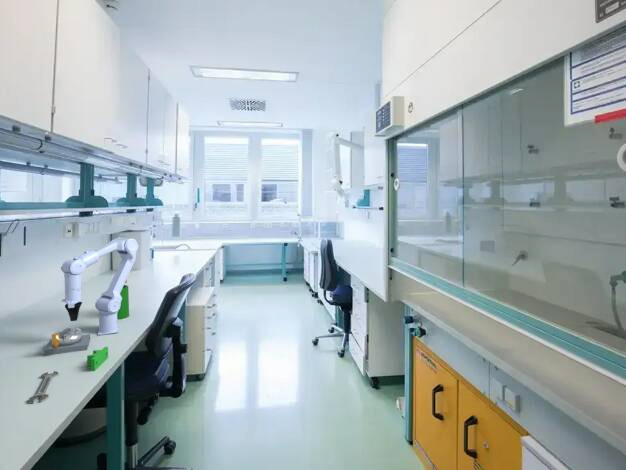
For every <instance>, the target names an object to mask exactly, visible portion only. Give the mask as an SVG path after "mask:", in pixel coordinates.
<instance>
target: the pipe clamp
mask: <svg viewBox="0 0 626 470" xmlns="http://www.w3.org/2000/svg"><path fill="white" fill-rule="evenodd" d="M107 359H109V346H104V347H103V348H102V349H93V350H92V354H89V355H87V358H86V361H87V363H86V365H87V368H89V369H90V371H91V372H95V371H97V369H99V368H100V366H102V365H103V364H104V363H105V362H106V361H107Z"/></svg>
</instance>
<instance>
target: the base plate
mask: <svg viewBox="0 0 626 470" xmlns="http://www.w3.org/2000/svg"><path fill="white" fill-rule="evenodd" d="M90 342H91V334H88V333H87V334H82V340H81V341H80V342H78V343H75V344H71V345H65V346H60V347H58V348H52V338H50V340H48V342H47V344H46V346H45V348H44V350H43V356H44V357H45V356H51V355H59V354H65V353H73V352H80V351H86V350H88V349H89V345H90Z"/></svg>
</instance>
